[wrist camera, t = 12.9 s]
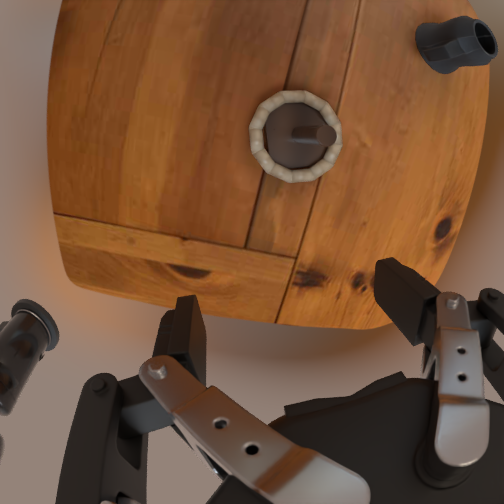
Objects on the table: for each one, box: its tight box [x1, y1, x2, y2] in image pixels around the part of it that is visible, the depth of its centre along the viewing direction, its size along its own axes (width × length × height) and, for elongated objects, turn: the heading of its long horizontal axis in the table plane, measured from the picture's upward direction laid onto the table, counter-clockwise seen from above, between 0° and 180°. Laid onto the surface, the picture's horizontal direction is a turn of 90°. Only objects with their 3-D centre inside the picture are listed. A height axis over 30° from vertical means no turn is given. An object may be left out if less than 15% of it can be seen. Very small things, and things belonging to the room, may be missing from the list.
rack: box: [264, 102, 337, 169], centre depth 28 cm, size 8×8×10 cm
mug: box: [416, 16, 498, 74], centre depth 23 cm, size 12×9×11 cm
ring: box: [249, 90, 343, 183], centre depth 31 cm, size 11×11×2 cm
